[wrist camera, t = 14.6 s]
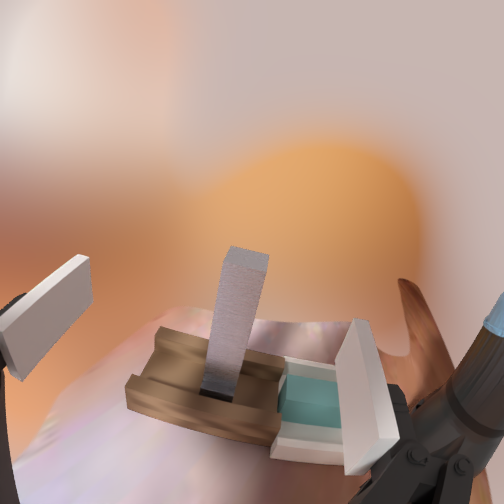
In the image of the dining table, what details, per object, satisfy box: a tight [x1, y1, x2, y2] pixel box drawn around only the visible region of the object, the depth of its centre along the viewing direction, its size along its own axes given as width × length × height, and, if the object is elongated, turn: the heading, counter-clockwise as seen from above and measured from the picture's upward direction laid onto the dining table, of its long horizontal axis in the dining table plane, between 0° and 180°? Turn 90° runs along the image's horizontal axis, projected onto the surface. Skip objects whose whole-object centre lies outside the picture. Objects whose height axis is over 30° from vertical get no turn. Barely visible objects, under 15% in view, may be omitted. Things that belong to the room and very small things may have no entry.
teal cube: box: [310, 380, 342, 428], centre depth 32 cm, size 4×4×4 cm
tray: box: [270, 356, 344, 466], centre depth 33 cm, size 13×14×3 cm
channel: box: [125, 326, 285, 447], centre depth 33 cm, size 16×11×4 cm
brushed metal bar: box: [199, 246, 269, 403], centre depth 30 cm, size 4×6×17 cm, turn 173°
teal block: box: [277, 374, 322, 425], centre depth 32 cm, size 4×4×4 cm
